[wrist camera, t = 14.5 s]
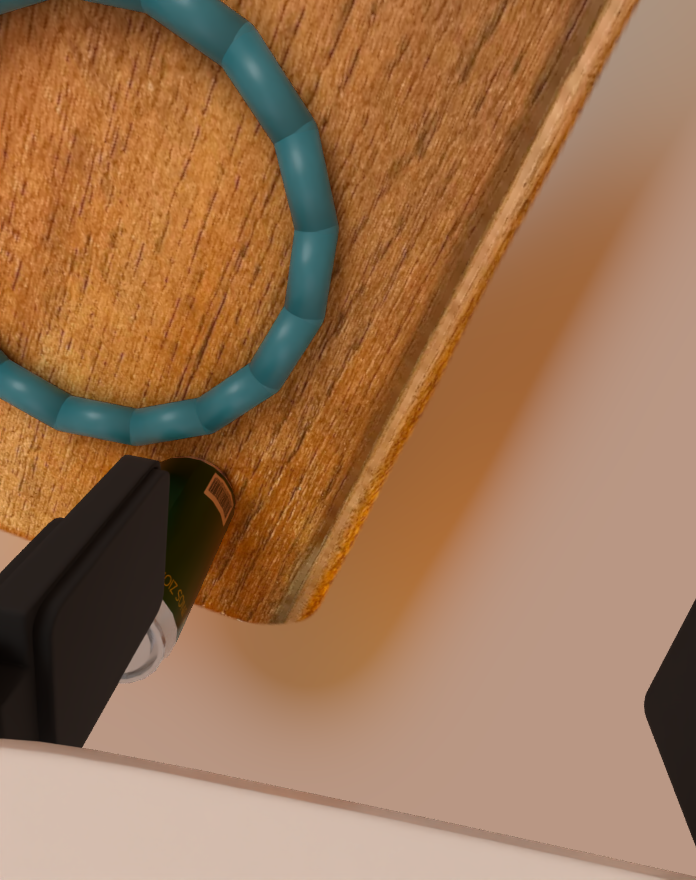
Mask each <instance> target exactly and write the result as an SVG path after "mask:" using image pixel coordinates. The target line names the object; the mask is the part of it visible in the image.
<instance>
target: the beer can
mask: <svg viewBox="0 0 696 880" xmlns="http://www.w3.org/2000/svg"><path fill="white" fill-rule="evenodd" d="M160 466H161V470H164V471H168V472H169V475H170V486H169V505H168V524H167V543H166V561H165V580H164V595H163V600H162V603H161V606H160V609H159V611H158V613H157V615H156V617H155V619H154V621H153V622H152V624H151V626H150V628H149V630H148V631H147V633H146V635H145V637H144V638H143V640H142V642H141V644H140V646H139V647H138V649H137V651H136V653H135V654H134V656H133V658H132V660H131V662H130V663H129V665H128V667H127V669H126V670H125V672H124V674H123V676H122V678H121V679H120V681H119V683H132V682H135V681H138V680H141V679H145V678H146V677H147V676H149V675H150V674H152V673H153V672H155V671H156V669H157V668H158V666H159V664H160V663H161V661H162V660H163V659H164V658H166V657H167V656H168V655H169V654H170V652H171V650H172V649H173V647H174V645H175V644H176V642H177V639H178V637H179V635H180V633H181V631H182V628H183V626H184V624H185V622H186V619H187V617H188V615H189V613H190V610H191V608H192V606H193V604H194V602H195V599H196V597H197V595H198V593H199V591H200V588H201V586H202V584H203V582H204V579H205V577H206V575H207V573H208V571H209V568H210V566H211V564H212V562H213V559H214V557H215V555H216V553H217V551H218V548H219V546H220V544H221V542H222V539H223V537H224V535H225V533H226V531H227V528H228V526H229V524H230V522H231V519H232V517H233V515H234V509H235V498H234V494H233V489H232V486H231V484H230V482H229V480H228V479H227V477H226V475H225V474H224V473H223V472H222V471H221V470H220V469H219V468H218V467H217V466H216V465H214V464H212V463H210V462H209V461H207V460H205V459H202V458H198V457H193V456H181V457H174V458H170V459H168V460H165V461H163V462H160Z"/></svg>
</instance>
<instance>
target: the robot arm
mask: <svg viewBox="0 0 696 880" xmlns="http://www.w3.org/2000/svg"><path fill="white" fill-rule="evenodd" d="M169 486H170V475H169V472H168V471H164V470H161V466H160V463H159V461H156V460H151V459H146V458H142V457H137V456H132V455H124V456H123V457H122V458H121V459H120V460H119V461H118V462H117V463H116V464H115V465H114V466H113V467H112V468H111V469H110V471H109V472H108V473H107V474H106V475H105V476H104V477H103V478H102V479H101V480H100V481H99V482H98V483H97V484H96V485H95V486H94V487H93V488H92V489H91V490H90V492H89V493H88V494H87V495H86V496H85V497H84V498H83V499H82V500H81V501H80V502H79V503H78V504H77V505H76V506H75V507H74V508H73V509H72V510H71V511H70V513H69V514H68V515H67V516H66V517H65V518H56V519H54V520H53V521H51V522H50V523H49V524H48V525H47V526H46V527H45V528H44V529H43V530H42V531H41V532H40V533H39V534H38V535H37V536H36V537H35V538H34V539H33V540H32V541H31V542H30V543H29V544H28V545H27V546H26V547H25V548H24V549H23V550H22V551H21V552H20V553H19V554H18V555H17V556H16V557H15V558H14V559H13V560H12V561H11V562H10V563H9V564H8V565H7V567H5V569H4V570H3V571H2V572H1V573H0V880H696V877H695V876H690V875H685V874H681V873H677V872H672V871H667V870H663V869H659V868H654V867H650V866H645V865H640V864H636V863H632V862H627V861H623V860H618V859H613V858H609V857H605V856H600V855H595V854H591V853H587V852H582V851H577V850H573V849H568V848H564V847H559V846H554V845H550V844H545V843H540V842H536V841H531V840H526V839H522V838H517V837H513V836H508V835H503V834H499V833H494V832H489V831H485V830H480V829H476V828H471V827H467V826H462V825H457V824H453V823H448V822H443V821H439V820H434V819H429V818H425V817H420V816H415V815H411V814H406V813H401V812H397V811H392V810H387V809H383V808H378V807H373V806H369V805H364V804H359V803H354V802H350V801H345V800H340V799H335V798H331V797H326V796H321V795H316V794H311V793H307V792H302V791H297V790H292V789H288V788H283V787H278V786H273V785H269V784H264V783H259V782H254V781H249V780H245V779H240V778H235V777H230V776H226V775H221V774H216V773H211V772H207V771H202V770H197V769H191V768H186V767H181V766H176V765H171V764H165V763H160V762H155V761H150V760H145V759H139V758H134V757H129V756H124V755H119V754H113V753H108V752H103V751H98V750H92V749H85V748H82V747H83V745H84V743H85V741H86V740H87V738H88V736H89V734H90V733H91V731H92V729H93V727H94V725H95V724H96V722H97V720H98V718H99V717H100V715H101V713H102V711H103V709H104V708H105V706H106V704H107V702H108V701H109V698H110V697H111V695H112V693H113V692H114V690H115V688H116V686H117V685H118V683H119V681H120V679H121V678H122V676H123V674H124V672H125V670H126V669H127V667H128V665H129V663H130V662H131V660H132V658H133V656H134V654H135V653H136V651H137V649H138V647H139V646H140V644H141V642H142V640H143V638H144V637H145V635H146V633H147V631H148V630H149V628H150V626H151V624H152V622H153V621H154V619H155V617H156V615H157V613H158V611H159V609H160V606H161V603H162V600H163V595H164V580H165V561H166V543H167V524H168V505H169ZM644 709H645V715H646V718H647V721H648V723H649V726H650V729H651V731H652V734H653V736H654V739H655V742H656V744H657V747H658V749H659V752H660V754H661V757H662V760H663V762H664V765H665V767H666V770H667V773H668V775H669V778H670V780H671V783H672V785H673V788H674V791H675V794H676V796H677V799H678V801H679V804H680V807H681V809H682V812H683V814H684V817H685V819H686V822H687V825H688V827H689V830H690V833H691V835H692V838H693V840H694V843H695V845H696V600H695V601H694V603H693V605H692V607H691V609H690V611H689V613H688V615H687V617H686V619H685V621H684V622H683V624H682V626H681V628H680V630H679V632H678V634H677V636H676V638H675V640H674V641H673V643H672V645H671V647H670V649H669V651H668V653H667V655H666V657H665V659H664V661H663V662H662V664H661V666H660V668H659V670H658V672H657V674H656V676H655V678H654V680H653V681H652V683H651V685H650V688H649V689H648V691H647V693H646V696H645V701H644Z"/></svg>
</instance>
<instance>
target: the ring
mask: <svg viewBox="0 0 696 880" xmlns="http://www.w3.org/2000/svg"><path fill="white" fill-rule="evenodd" d="M43 1H47V0H0V15H1V14H4V13H7V12H11V11H14V10H17V9H20V8H24V7H27V6H30V5H34V4H37V3H40V2H43ZM83 1H88V2H93V3H98V4H103V5H108V6H113V7H118V8H123V9H128V10H133V11H138V12H143V13H146V14H148V15H149V16H151V17H152V18H153V19H155V20H156V21H158V22H159V23H161V24H162V25H163V26H165V27H166V28H168V29H169V30H170V31H172V32H173V33H175V34H176V35H178V36H179V37H180V38H182V39H183V40H185V41H186V42H187V43H189V44H190V45H192V46H193V47H195V48H196V49H197V50H199V51H200V52H202V53H203V54H204V55H206V56H207V57H209V58H210V59H212V60H213V61H214V62H216V63H217V64H219V65H220V66H221V67H222V68H223V69H224V71H225V72H226V74H227V75H228V77H229V78H230V80H231V81H232V83H233V84H234V86H235V87H236V89H237V90H238V92H239V93H240V95H241V96H242V98H243V99H244V101H245V102H246V104H247V105H248V107H249V108H250V110H251V111H252V113H253V114H254V116H255V117H256V119H257V120H258V122H259V123H260V125H261V126H262V127H263V129H264V130H265V132H266V133H267V135H268V136H269V138H270V139H271V141H272V142H273V144H274V146H275V150H276V155H277V159H278V163H279V167H280V171H281V175H282V179H283V183H284V187H285V192H286V196H287V200H288V204H289V208H290V212H291V216H292V220H293V225H294V229H295V231H294V238H293V246H292V253H291V261H290V268H289V276H288V283H287V290H286V298H285V305H284V307H283V309H282V310H281V312H280V314H279V315H278V317H277V319H276V320H275V322H274V324H273V325H272V327H271V329H270V330H269V332H268V334H267V335H266V337H265V339H264V340H263V342H262V344H261V345H260V347H259V349H258V350H257V352H256V354H255V355H254V357H253V359H252V360H251V362H250V363H249V364H247V365H246V366H245V367H243V368H242V369H240V370H239V371H237V372H236V373H234V374H233V375H231V376H230V377H228V378H227V379H225V380H224V381H222V382H221V383H219V384H218V385H217V386H215V387H214V388H212V389H211V390H209V391H208V392H206V393H205V394H203V395H202V396H200V397H199V398H194V399H188V400H183V401H177V402H172V403H166V404H161V405H155V406H150V407H144V408H138V409H137V408H132V407H127V406H122V405H116V404H111V403H106V402H101V401H96V400H91V399H86V398H81V397H76V396H72V395H70V394H68V393H67V392H65V391H63V390H61V389H60V388H58V387H56V386H55V385H53V384H51V383H49V382H48V381H46V380H44V379H42V378H41V377H39V376H37V375H35V374H34V373H32V372H30V371H29V370H27V369H25V368H23V367H22V366H20V365H18V364H16V363H15V362H13V361H11V360H10V359H9V358H8V357H7V356H6V355H5V354H4V353H3V352H2V350H1V349H0V398H1V399H2V400H4V401H6V402H8V403H9V404H11V405H13V406H15V407H16V408H18V409H20V410H22V411H24V412H25V413H27V414H29V415H31V416H32V417H34V418H36V419H38V420H40V421H41V422H43V423H45V424H47V425H48V426H50V427H52V428H54V429H56V430H58V431H62V432H67V433H72V434H77V435H82V436H87V437H92V438H97V439H102V440H107V441H113V442H118V443H123V444H128V445H133V446H142V445H148V444H154V443H160V442H166V441H172V440H178V439H184V438H190V437H196V436H202V435H207V434H212V433H215V432H217V431H218V430H220V429H221V428H223V427H224V426H226V425H228V424H229V423H231V422H232V421H234V420H235V419H237V418H238V417H240V416H241V415H243V414H244V413H246V412H248V411H249V410H251V409H252V408H254V407H255V406H257V405H258V404H260V403H261V402H263V401H265V400H266V399H268V398H269V397H271V396H272V395H274V394H275V393H277V392H278V391H279V390H280V389H281V387H282V386H283V384H284V383H285V381H286V380H287V378H288V376H289V375H290V373H291V372H292V370H293V369H294V367H295V366H296V364H297V362H298V361H299V359H300V358H301V356H302V355H303V353H304V352H305V350H306V348H307V347H308V345H309V344H310V342H311V341H312V339H313V337H314V336H315V334H316V333H317V331H318V330H319V328H320V327H321V325H322V323H323V321H324V318H325V312H326V306H327V300H328V294H329V288H330V282H331V276H332V270H333V264H334V258H335V252H336V246H337V239H338V233H339V225H338V220H337V215H336V210H335V206H334V201H333V196H332V192H331V187H330V182H329V178H328V173H327V168H326V164H325V159H324V154H323V150H322V145H321V140H320V136H319V131H318V127H317V124H316V122H315V120H314V119H313V117H312V115H311V114H310V112H309V111H308V109H307V108H306V106H305V104H304V103H303V101H302V100H301V98H300V97H299V95H298V94H297V92H296V90H295V89H294V87H293V86H292V84H291V83H290V81H289V79H288V78H287V76H286V75H285V73H284V72H283V70H282V68H281V67H280V65H279V64H278V62H277V61H276V59H275V58H274V56H273V54H272V53H271V51H270V50H269V48H268V47H267V45H266V43H265V42H264V40H263V39H262V37H261V36H260V34H259V33H258V31H257V30H256V28H255V27H254V26H253V25H252V24H251V23H250V22H249V21H247V20H246V19H245V18H243V17H242V16H241V15H239V14H238V13H236V12H235V11H234V10H232V9H231V8H230V7H228V6H227V5H225V4H224V3H223V2H221V1H220V0H83Z"/></svg>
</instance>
